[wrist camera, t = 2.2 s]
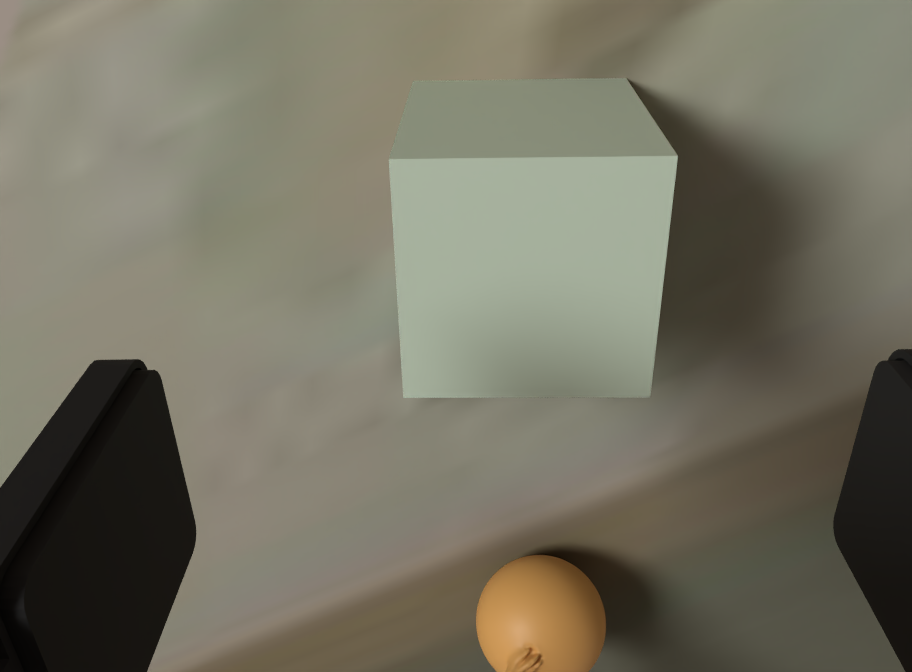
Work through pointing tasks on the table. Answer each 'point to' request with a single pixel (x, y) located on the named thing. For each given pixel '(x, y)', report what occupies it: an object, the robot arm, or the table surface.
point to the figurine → (540, 617)
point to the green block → (529, 238)
